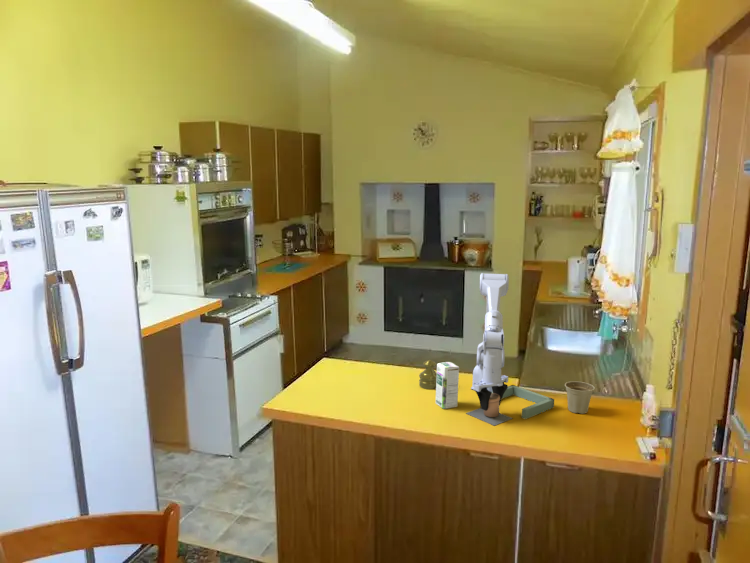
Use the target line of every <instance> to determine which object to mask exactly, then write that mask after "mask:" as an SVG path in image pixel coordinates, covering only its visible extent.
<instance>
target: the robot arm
mask: <svg viewBox="0 0 750 563" xmlns="http://www.w3.org/2000/svg"><path fill="white" fill-rule="evenodd" d="M509 280H510V277H509V274H508V273H484V272H481V273H480V275H479V293H480V295H482V296H485V297H484V298H485V299H486V313H485V316H484V332H483V335H482V337H483V338H482V342H480V343H478V345H477V350H476V365H475V367H474V368H473V371H472V386H471V387H470V389H471V390H473V391H475V393H476V395H477V397H478V400H479V404H480V408H481V409H483V410H485V411H487V410H488V404H489V398H490V396H491V393H492V392H493V393H495V394H498V395H499V396H500V401H499V407H500V406H501V402H502V400H503V398H502V397H503V395H504V393H505V391H506V389H507V388H508V386H509V385H508V384H505V383H509V376H508V375H505V374H504V375H503V374H502V368H504V367H505V357H506V356H505V355H506V354H505V347H504V346H505V333H504V328H503V326H504V325H503V324H504V322H503V319H504V316H503V314H502V313H501V312H500V305H501V298H502V297H504V296H507V294H508V291H509V287H510V285H509V282H510V281H509Z"/></svg>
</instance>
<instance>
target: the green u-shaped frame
mask: <svg viewBox="0 0 750 563" xmlns="http://www.w3.org/2000/svg"><path fill="white" fill-rule="evenodd" d="M492 393H493V392H492ZM511 396H515V397H519V398H521V399H523V398H524V400H526V399H527V400H526V401H529V402H531V401H532V402H531V403H534V402H535V403H534V404H531V405H529V406H526V407H523V408H522V409H521V418H522V419H524V420H527V419H529V418H532V417H534V416H537V415H538V414H539V415H540V414H542V413H544V412H547V411H549V410H552V409H554V408H555V398H551V397H550V396H549V397H548V396H546V395H542V394H541V393H538V392H535V391H531V390H529V389H526V388H524V387H520V386H518V385H515V384H510V385H508V388H507V389H506V391H505V393H504V395H503V397H502V399H504V398H508V397H511ZM553 407H554V408H553ZM551 408H552V409H551ZM548 409H549V410H548ZM546 410H547V411H546ZM541 412H542V413H541Z"/></svg>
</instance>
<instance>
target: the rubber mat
mask: <svg viewBox="0 0 750 563" xmlns="http://www.w3.org/2000/svg"><path fill="white" fill-rule="evenodd" d="M465 414H466V415H468V416H471V417H472V418H475V419H478V420H480V421H482V422H484V423H486V424H488V425H489V424H490V425H491V426H494V427H495V426H497V425H500V424H503V423H505V422H508V421H510V420H513V417H511V416H508V415H506V414H503V413H501V412H499V415H498V416H496V417H488V416H485V415H484V410H483V409H481V407H479V408H477V409H474V410H471V411H468V412H466V413H465Z"/></svg>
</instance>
